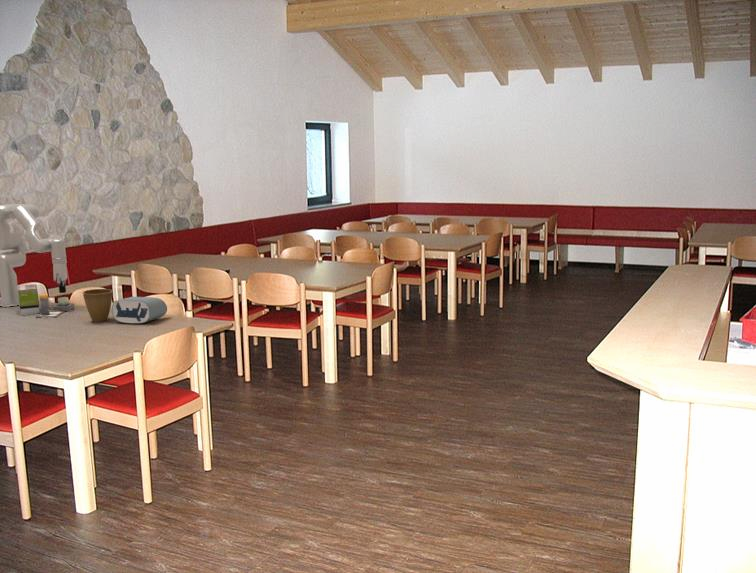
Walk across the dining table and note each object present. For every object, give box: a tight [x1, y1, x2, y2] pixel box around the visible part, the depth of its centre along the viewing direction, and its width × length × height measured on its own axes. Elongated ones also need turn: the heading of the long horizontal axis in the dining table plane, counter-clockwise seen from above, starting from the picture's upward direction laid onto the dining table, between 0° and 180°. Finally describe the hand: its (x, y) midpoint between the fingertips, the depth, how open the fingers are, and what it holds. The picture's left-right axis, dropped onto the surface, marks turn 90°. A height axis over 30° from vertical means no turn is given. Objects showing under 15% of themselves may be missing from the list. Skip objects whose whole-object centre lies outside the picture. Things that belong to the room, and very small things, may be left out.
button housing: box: [52, 302, 75, 312], centre depth 436 cm, size 9×9×3 cm
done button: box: [57, 296, 69, 306], centre depth 435 cm, size 5×5×4 cm
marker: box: [39, 293, 50, 315], centre depth 420 cm, size 4×4×11 cm
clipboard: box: [35, 309, 65, 319], centre depth 423 cm, size 14×11×1 cm
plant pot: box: [82, 288, 113, 323], centre depth 406 cm, size 15×15×16 cm
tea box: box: [18, 283, 41, 316], centre depth 431 cm, size 15×10×15 cm, turn 25°
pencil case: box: [111, 296, 168, 324], centre depth 405 cm, size 22×19×13 cm
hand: (62, 292), depth 434 cm, fingers closed
